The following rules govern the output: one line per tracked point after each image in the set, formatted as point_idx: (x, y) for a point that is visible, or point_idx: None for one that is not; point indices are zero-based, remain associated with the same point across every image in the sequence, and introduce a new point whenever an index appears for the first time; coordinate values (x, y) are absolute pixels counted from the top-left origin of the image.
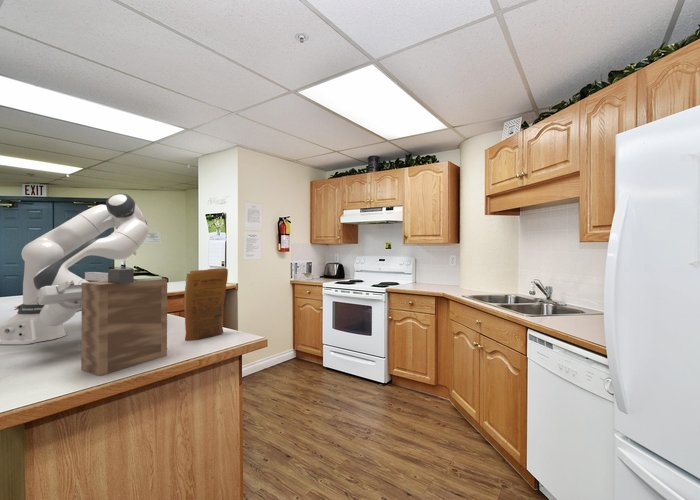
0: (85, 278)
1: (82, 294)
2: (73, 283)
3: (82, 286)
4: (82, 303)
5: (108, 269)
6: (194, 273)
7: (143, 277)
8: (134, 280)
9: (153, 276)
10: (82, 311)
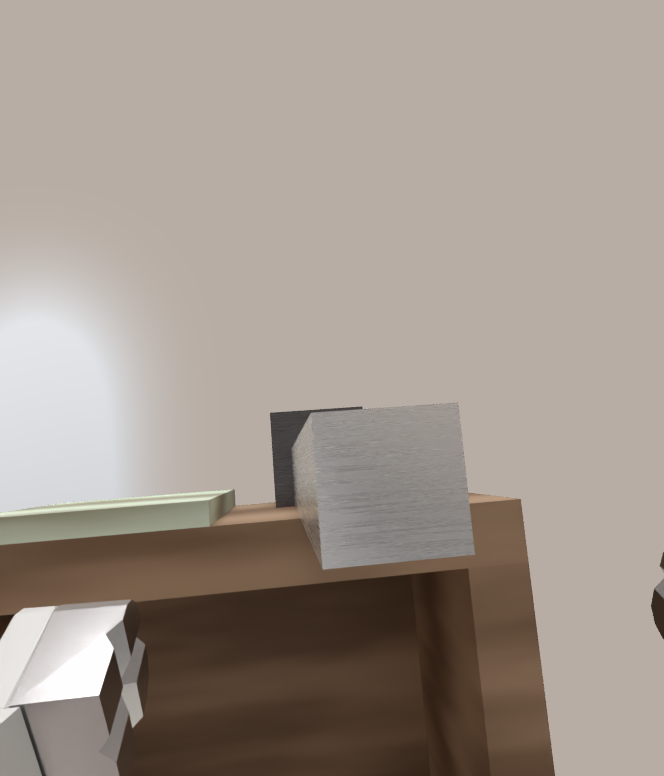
0: (463, 524)
1: (527, 606)
2: (661, 592)
3: (518, 531)
4: (537, 693)
5: (361, 408)
6: None
7: (136, 499)
8: (232, 501)
9: (33, 508)
10: (547, 773)
